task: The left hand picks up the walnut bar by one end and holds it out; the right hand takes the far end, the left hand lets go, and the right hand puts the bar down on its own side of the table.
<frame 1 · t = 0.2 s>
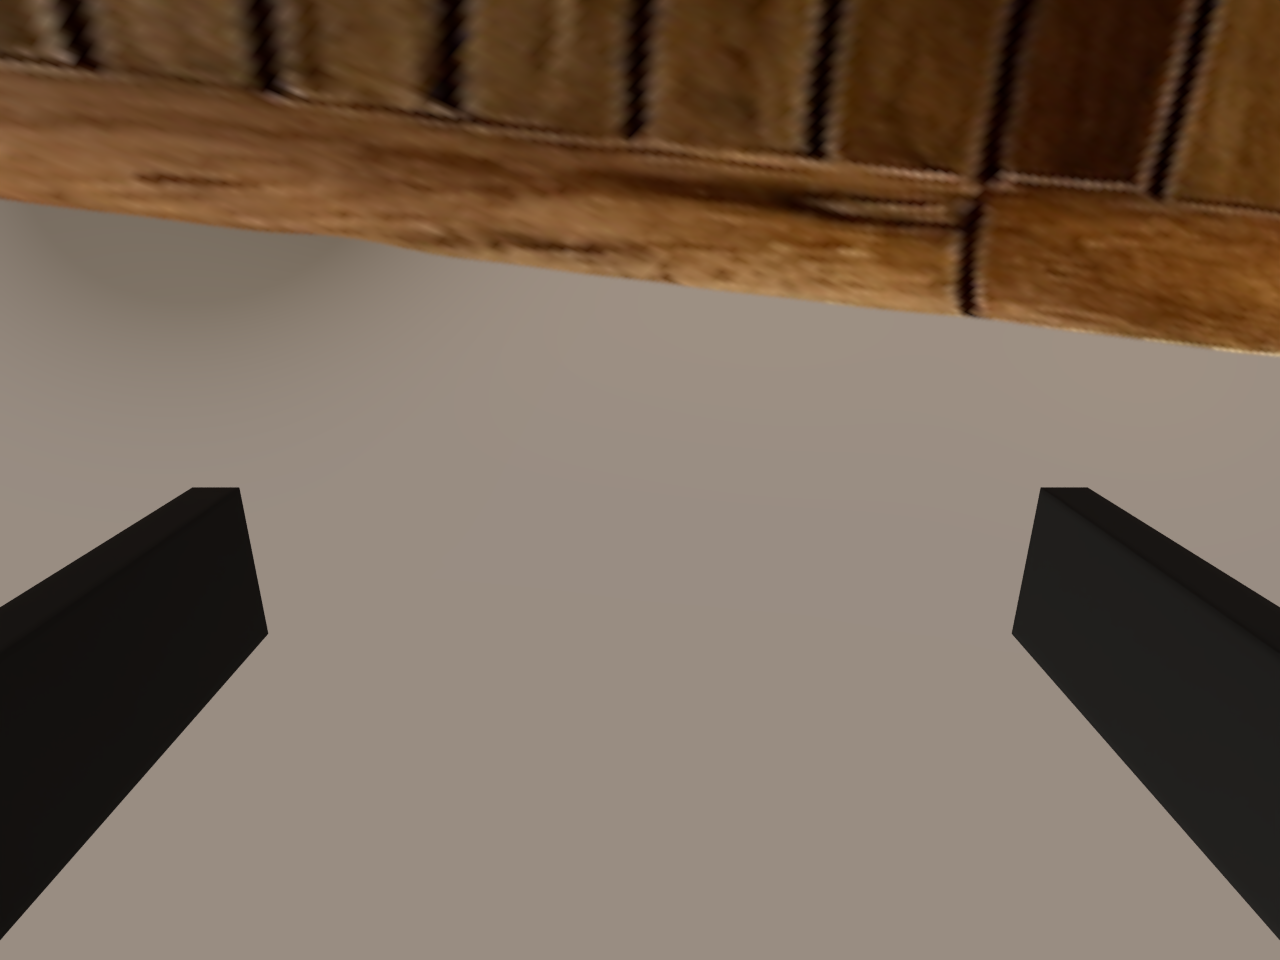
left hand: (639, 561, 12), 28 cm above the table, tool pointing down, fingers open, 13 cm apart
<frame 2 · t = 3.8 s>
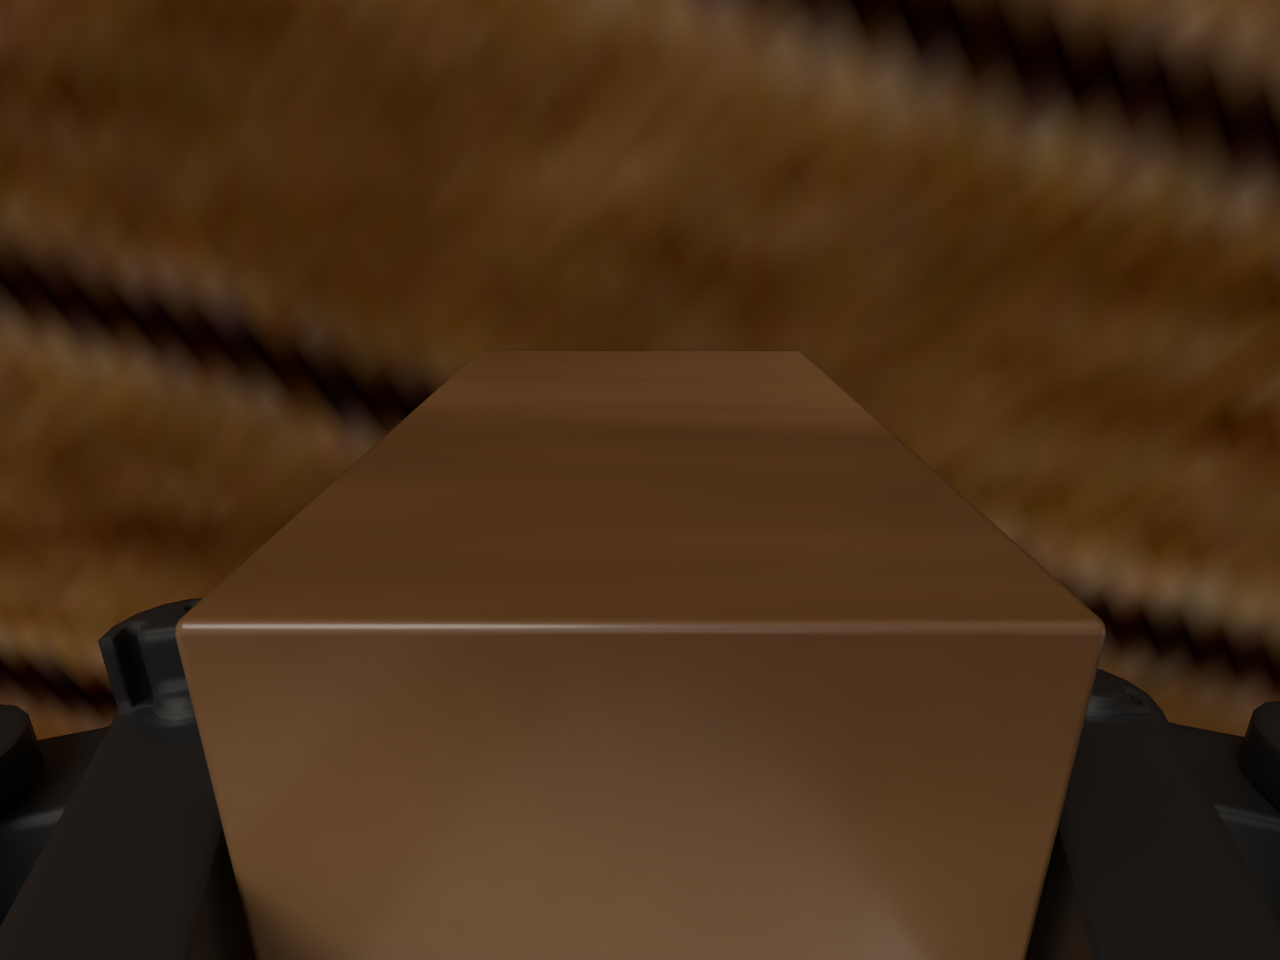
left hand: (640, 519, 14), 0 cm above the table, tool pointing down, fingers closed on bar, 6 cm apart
bar: (640, 895, 18), on the table, touching left hand
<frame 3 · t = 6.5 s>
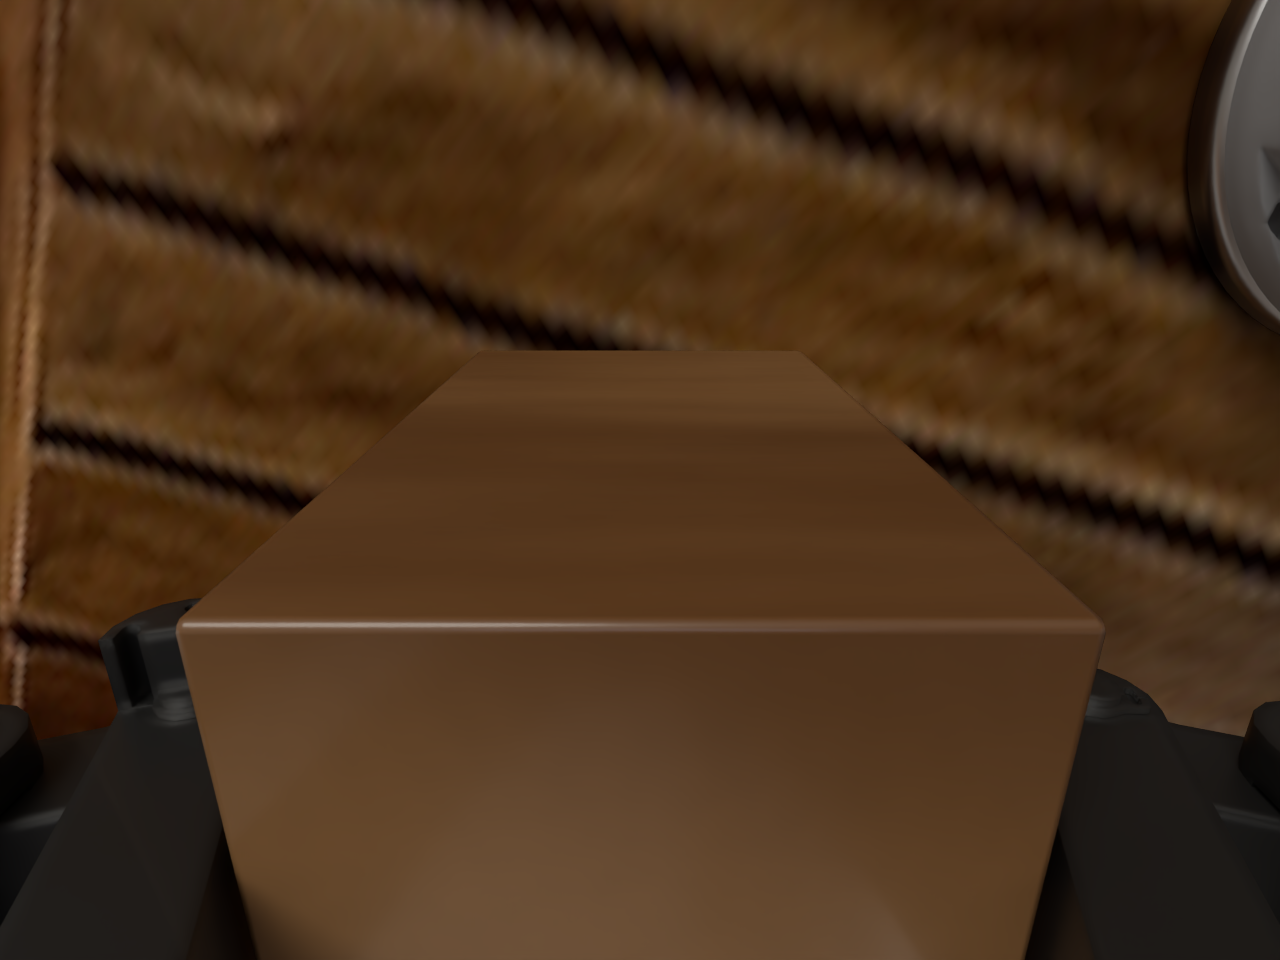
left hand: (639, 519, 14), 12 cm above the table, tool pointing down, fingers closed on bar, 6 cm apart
bar: (640, 894, 18), point 11 cm above the table, touching left hand
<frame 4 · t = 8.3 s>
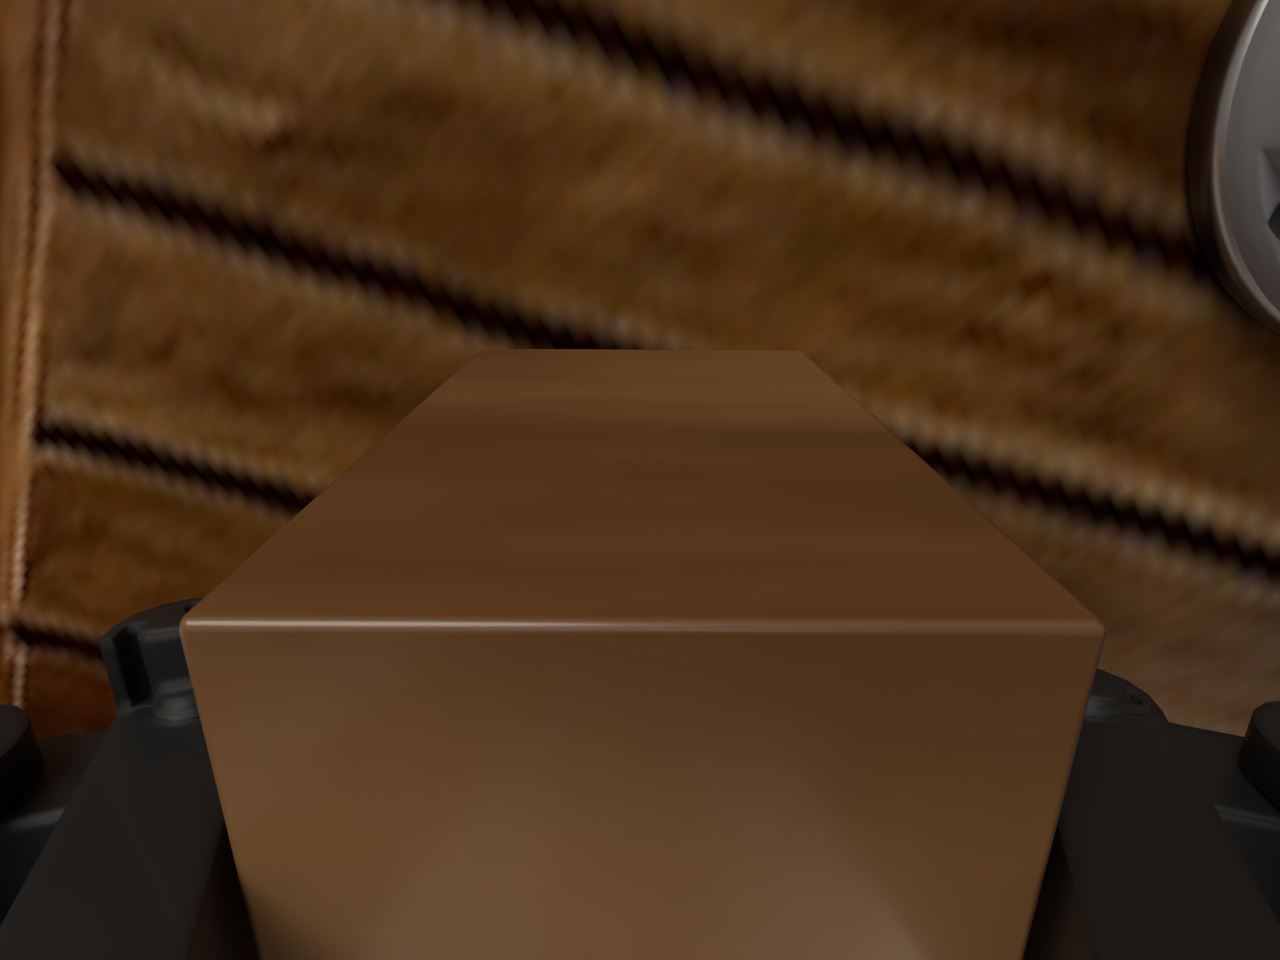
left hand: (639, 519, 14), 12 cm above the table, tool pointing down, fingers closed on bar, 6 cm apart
bar: (638, 892, 18), point 11 cm above the table, touching left hand, right hand
when the left hand's fingers open (12 cm above the table, at t = 9.3 s): bar stays where it is, held by the right hand.
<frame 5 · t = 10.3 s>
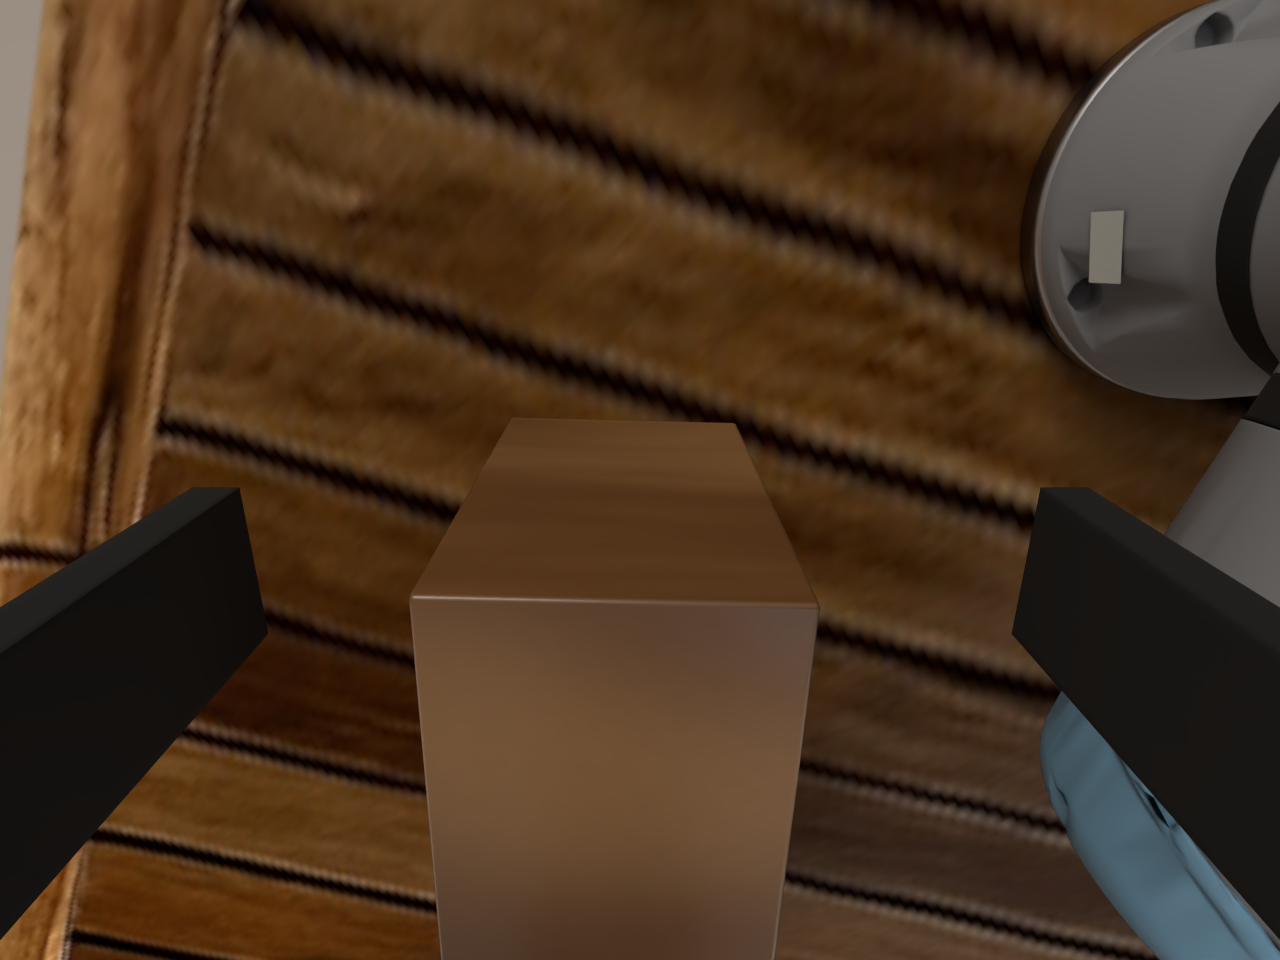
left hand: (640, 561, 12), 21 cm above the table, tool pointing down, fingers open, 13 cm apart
bar: (614, 815, 24), point 14 cm above the table, touching right hand
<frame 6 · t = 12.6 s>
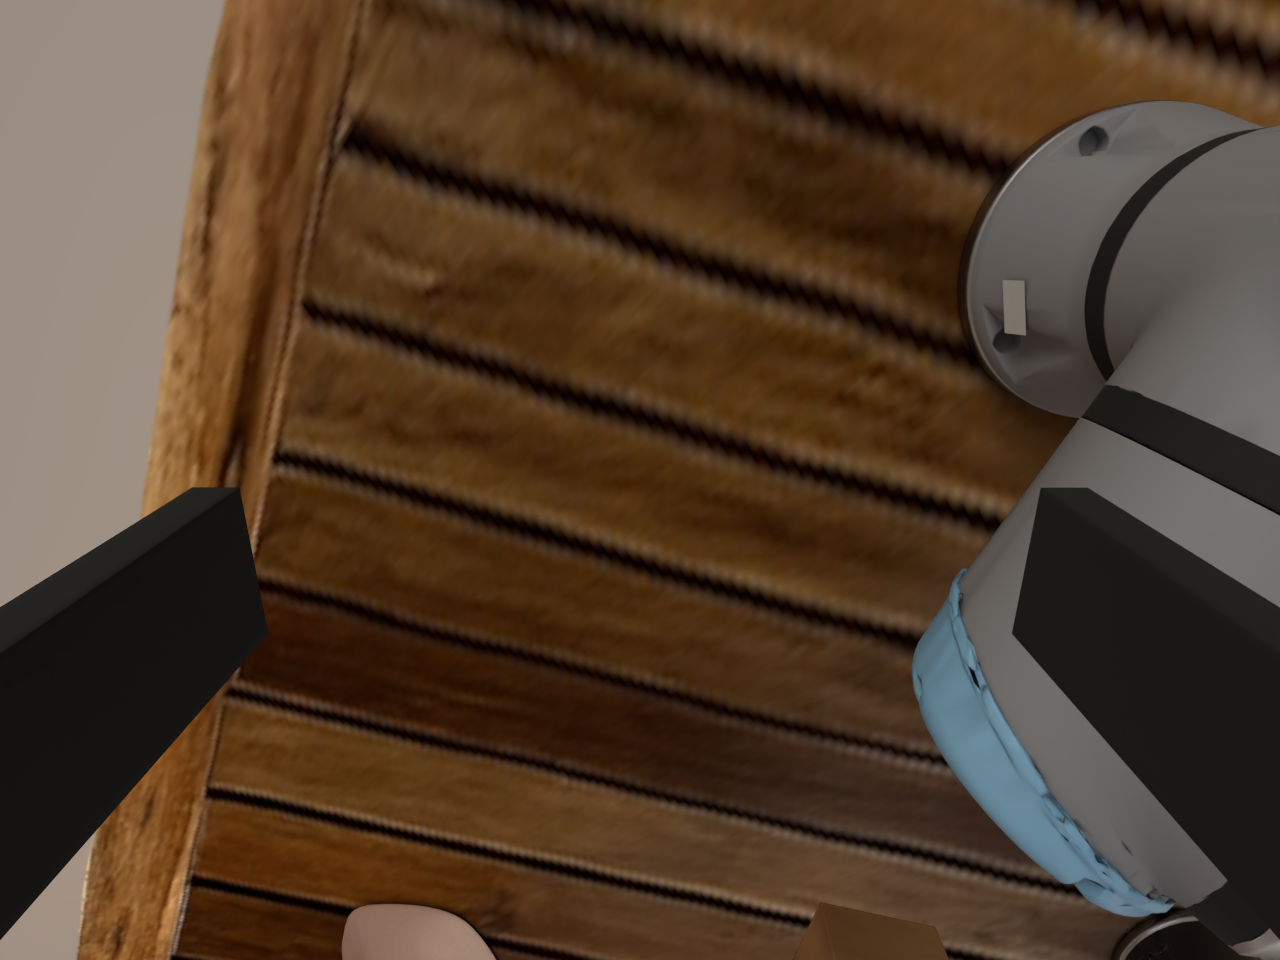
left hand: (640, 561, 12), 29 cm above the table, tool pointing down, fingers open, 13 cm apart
when the right hand's fingers open (7 cm above the table, at t = 17.2 s): bar drops 2 cm, on the table.
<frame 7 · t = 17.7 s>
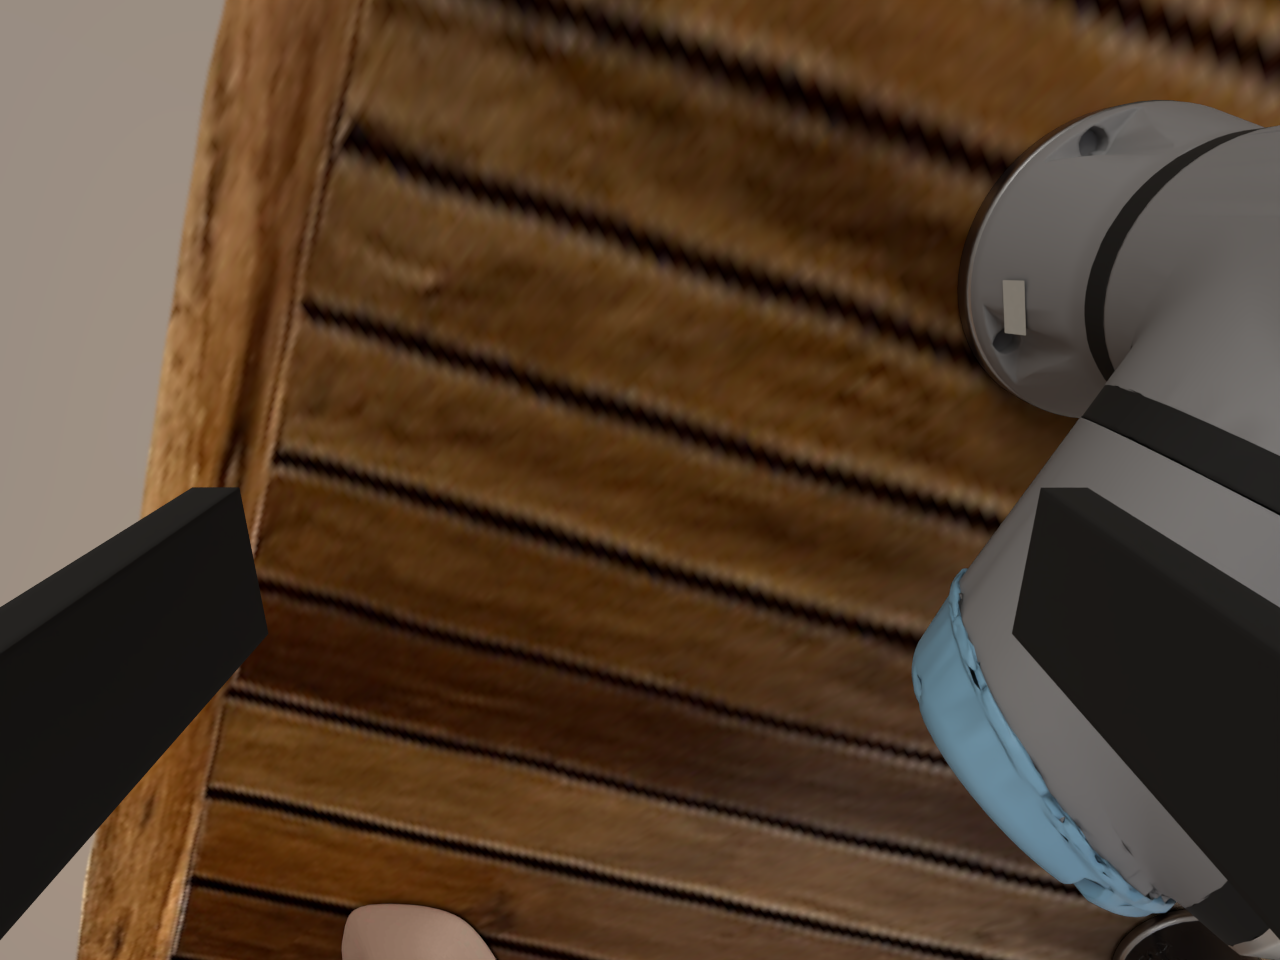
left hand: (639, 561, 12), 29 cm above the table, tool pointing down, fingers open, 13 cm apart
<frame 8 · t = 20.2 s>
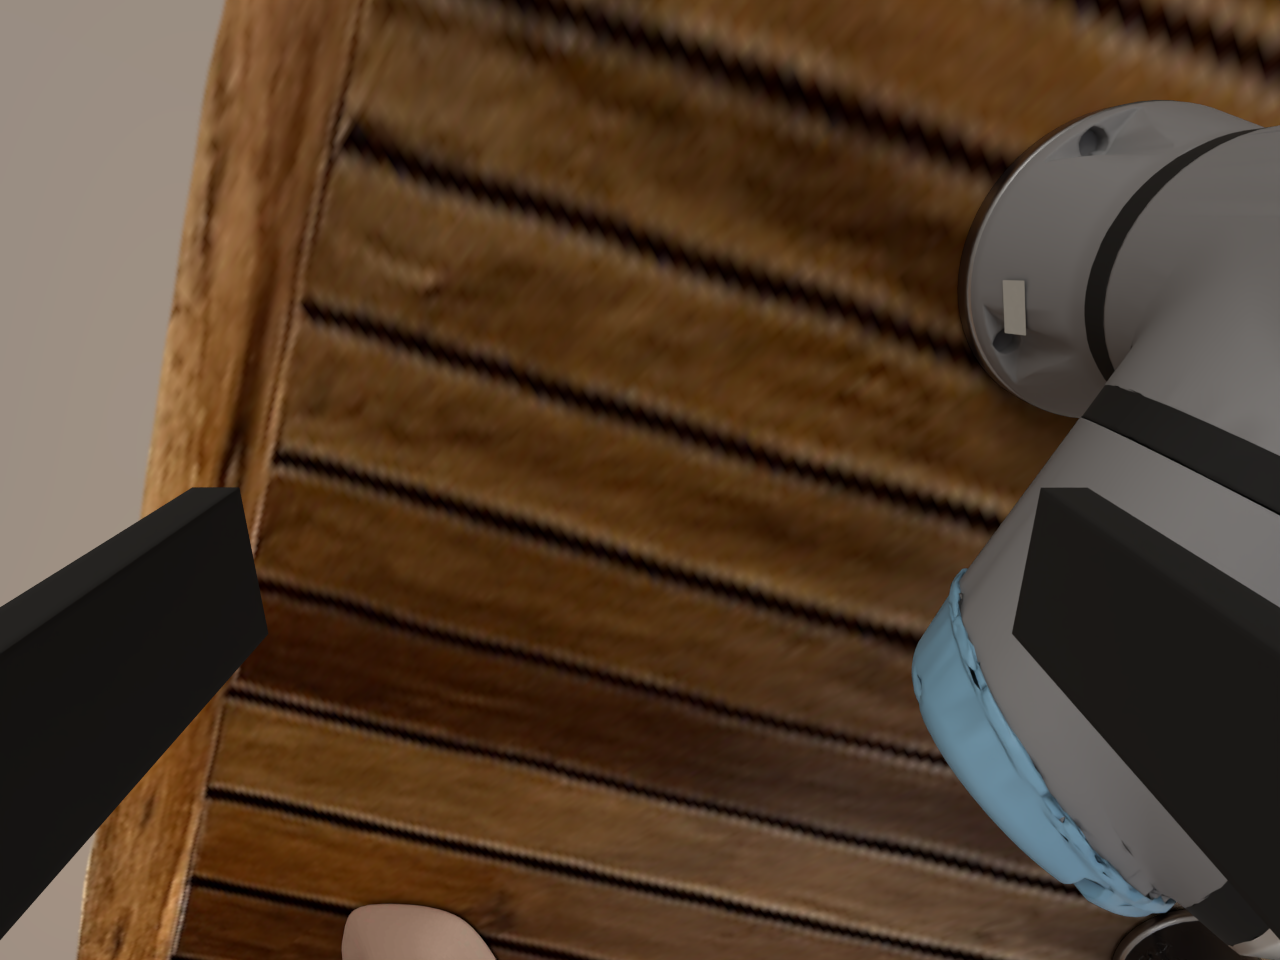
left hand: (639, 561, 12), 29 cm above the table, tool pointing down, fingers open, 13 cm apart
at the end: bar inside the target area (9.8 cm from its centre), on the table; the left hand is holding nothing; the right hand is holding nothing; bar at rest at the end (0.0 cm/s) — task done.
